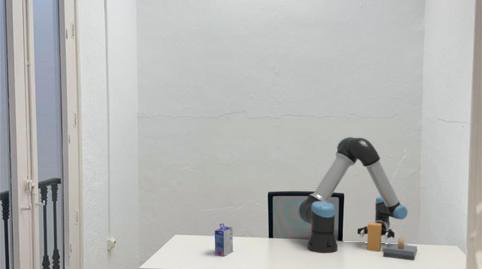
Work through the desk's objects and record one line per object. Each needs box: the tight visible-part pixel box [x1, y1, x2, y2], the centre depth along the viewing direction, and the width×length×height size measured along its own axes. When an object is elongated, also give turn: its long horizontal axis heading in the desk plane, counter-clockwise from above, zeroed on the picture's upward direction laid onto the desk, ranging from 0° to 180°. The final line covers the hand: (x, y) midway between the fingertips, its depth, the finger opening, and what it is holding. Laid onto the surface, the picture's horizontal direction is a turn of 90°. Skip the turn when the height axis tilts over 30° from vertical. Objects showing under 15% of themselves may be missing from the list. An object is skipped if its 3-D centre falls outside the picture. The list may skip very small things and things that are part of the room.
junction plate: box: [382, 237, 418, 261], centre depth 230 cm, size 14×20×7 cm
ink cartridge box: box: [214, 222, 234, 257], centre depth 225 cm, size 10×6×14 cm, turn 155°
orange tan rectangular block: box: [366, 222, 382, 252], centre depth 237 cm, size 6×6×13 cm
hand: (373, 236), depth 233 cm, fingers open, 11 cm apart
